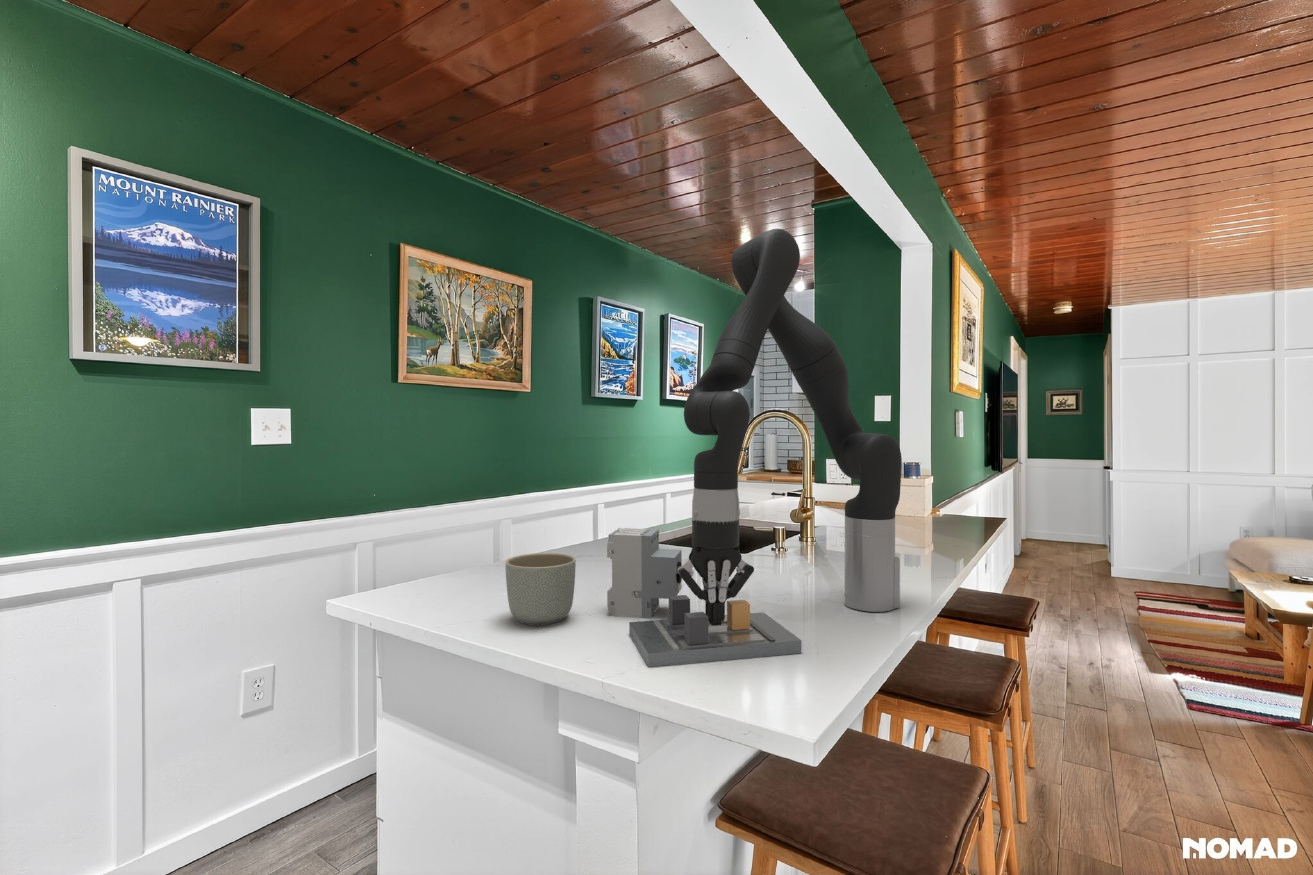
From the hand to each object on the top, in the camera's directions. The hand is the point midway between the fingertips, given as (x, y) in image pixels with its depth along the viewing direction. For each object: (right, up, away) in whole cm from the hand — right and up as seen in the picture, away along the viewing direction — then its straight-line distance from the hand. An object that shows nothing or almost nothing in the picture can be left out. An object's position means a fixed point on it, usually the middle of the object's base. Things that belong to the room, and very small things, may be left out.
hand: (714, 623), depth 103 cm
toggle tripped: (+4, -1, +1) cm, 4 cm away
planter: (-30, -3, +13) cm, 33 cm away
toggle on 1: (-6, -1, +4) cm, 7 cm away
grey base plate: (-1, -3, 0) cm, 3 cm away
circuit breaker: (-11, -3, +17) cm, 20 cm away
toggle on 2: (-3, -1, -6) cm, 7 cm away
